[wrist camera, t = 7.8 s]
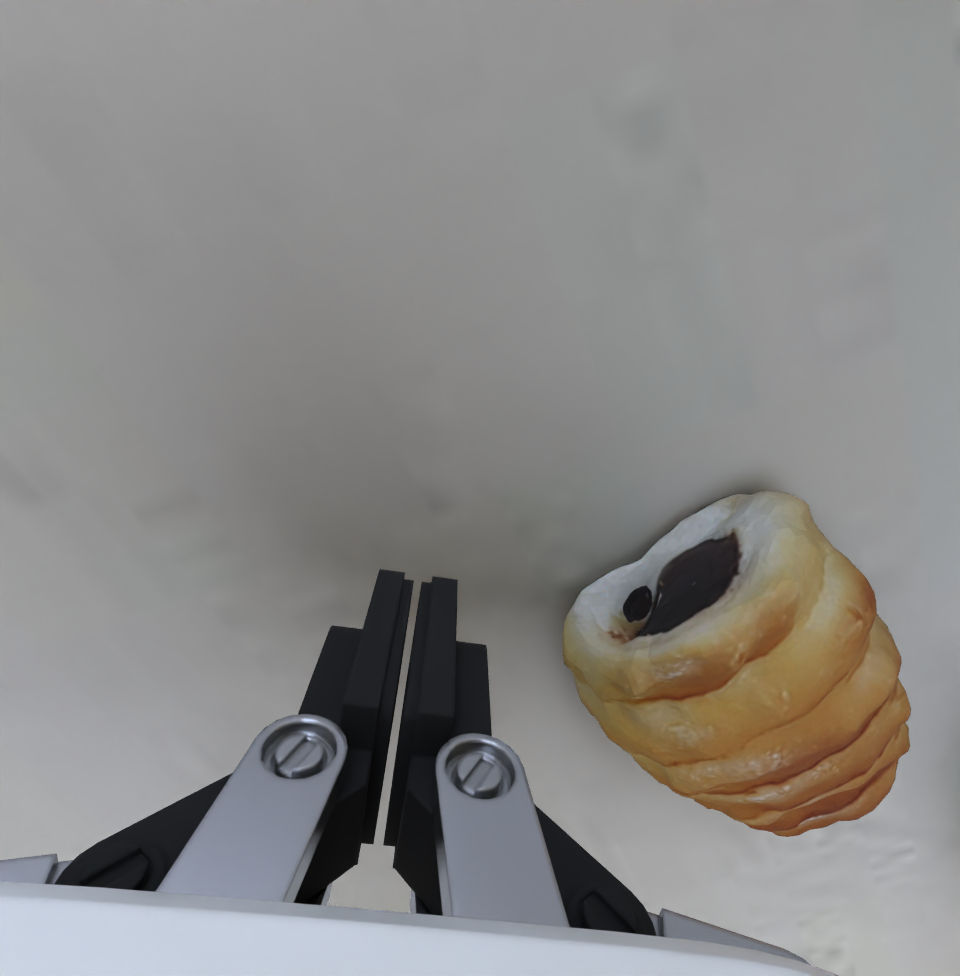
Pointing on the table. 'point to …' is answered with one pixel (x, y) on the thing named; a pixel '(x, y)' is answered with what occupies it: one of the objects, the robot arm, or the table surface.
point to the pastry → (746, 667)
